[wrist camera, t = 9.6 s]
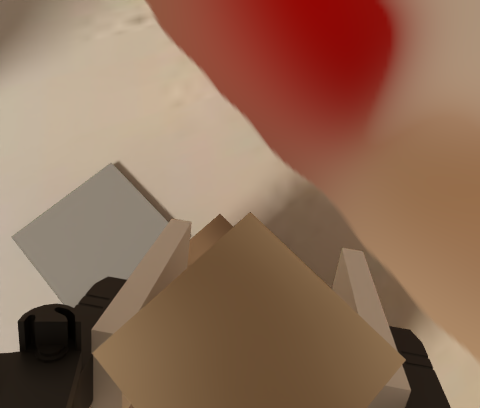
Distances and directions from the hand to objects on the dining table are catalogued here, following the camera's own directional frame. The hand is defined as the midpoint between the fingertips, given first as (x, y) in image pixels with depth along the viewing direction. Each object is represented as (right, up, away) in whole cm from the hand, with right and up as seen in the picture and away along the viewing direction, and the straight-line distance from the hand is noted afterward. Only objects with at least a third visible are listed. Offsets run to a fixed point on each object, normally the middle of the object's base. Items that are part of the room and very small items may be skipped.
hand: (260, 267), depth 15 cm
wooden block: (-1, -6, +5) cm, 8 cm away
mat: (-13, -1, +22) cm, 26 cm away
